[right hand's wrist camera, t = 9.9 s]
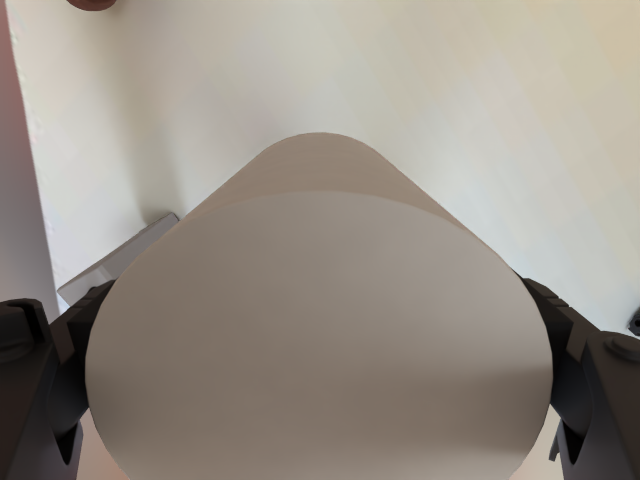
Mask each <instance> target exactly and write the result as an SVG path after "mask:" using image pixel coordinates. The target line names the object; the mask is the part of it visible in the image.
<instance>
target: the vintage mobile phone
mask: <svg viewBox="0 0 640 480" xmlns="http://www.w3.org/2000/svg"><path fill="white" fill-rule="evenodd" d="M178 222H179V221H178V219H177V218H176V216H175V215H174V214H173V213H171V214H169V215H167V216H165V217H164V218H162V219H160V220H158V221H157V222H155V223H153V224H151V225H150V226H148V227H146V228H144V229H143V230H141V231H140V232H139V233H138V234H137V235H135V236H134V237H132V238H131V239H129V240H128V241H127V242H125V243H124V244H122V245H121V246H120V247H118V248H117V249H115V250H114V251H112V252H111V253H110V254H108V255H107V256H105V257H104V258H102V259H101V260H99V261H98V262H96V263H95V264H93V265H92V266H90V267H89V268H87V269H86V270H84V271H83V272H82V273H80V274H79V275H77V276H76V277H74V278H73V279H71V280H70V281H68V282H67V283H66V284H64V285H63V286H61V287H60V288H59V289H58V290H57V293H58V294H59V295H60V296H61V297H62V298H63V299H64V300H65V301H66V302H67V304H68V305H69V306H70V308H72V306H73V305H74V304H75V303H77V302H78V301H79V300H82V298H83V297H84V296H85V295H86V294H88V293H89V292H90V291H91V290H92V289H94V288H95V287H97V286H99V285H101V284H103V283H105V282H108V281H110V280H116V279H117V278H118V277H119V276H121V274H122V273H123V272H124V271H125V270H126V269H127V268H128V266H129V265H130V264H131V263H132V262H133V261H134V259H135V258H136V257H138V256H139V255H140V254H141V253H142V252H143V251H145V250H146V249H147V248H148V247H149V246H151V245H152V244H153V243H154V242H155V241H157V240H158V239H159V238H160V237H161V236H163V235H164V234H165V233H166V232H167V231H168V230H170V229H171V228H172V227H173V226H174V225H176V224H177V223H178ZM68 309H69V308H68ZM68 309H67V310H68Z"/></svg>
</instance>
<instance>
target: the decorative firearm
mask: <svg viewBox="0 0 640 480" xmlns="http://www.w3.org/2000/svg"><path fill="white" fill-rule="evenodd" d="M628 329H629V330H630V331H631V332H632V333H633V334H634V335H635V336H640V314H639V315H638V316H637V315H635V317H634V318H633V319H632V321H631V322H630V328H628Z"/></svg>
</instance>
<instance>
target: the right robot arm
mask: <svg viewBox="0 0 640 480" xmlns="http://www.w3.org/2000/svg"><path fill="white" fill-rule="evenodd" d="M511 269H512V268H511ZM512 270H513V269H512ZM513 271H514V270H513ZM514 272H515V271H514ZM515 273H516V272H515ZM516 274H517V273H516ZM517 276H518V277H519V278H520V279H521V281H522V282H523V284H524V286H525V287H526V289H527V290H528V292H529V293H530V295H531V296H532V298H533V299H534V301H535V303H536V305H537V308H538V310H539V312H540V315H541V317H542V319H543V322H544V324H545V326H546V330H547V335H548V339H549V343H550V348H551V352H552V366H553V383H552V391H551V400H550V404H551V405H552V407H553V408H554V409H555V411H556V412H557V413H558V414H559V416H560V417H561V419H560V422H559V425H558V428H557V432H556V435H555V438H554V441H553V444H552V447H551V450H550V454H549V460H551V461H555V458H556V455H557V453H559V452H560V458H561V464H562V470H563V476H564V480H640V340H639V339H637V338H634V337H631V336H628V335H624V334H621V333H617V332H609V331H600V330H599V329H598V328H597V327H595V326H594V325H593V324H592V323H590V322H589V321H588V320H587V319H586V318H584V317H583V316H582V315H581V314H579V313H578V312H577V311H576V310H574V309H573V308H572V307H569V305H568V304H567V303H566V302H565V301H563V300H562V299H559V297H558V296H557V295H556V294H555V293H553V292H552V291H551V290H550V289H549V288H547V287H546V286H544V285H542V284H540V283H538V282H536V281H534V280H531V279H529V278H522V277H521V276H520V275H519V274H517ZM119 277H120V276H119ZM119 277H118V278H119ZM118 278H117V279H118ZM117 279H116V280H117ZM116 280H110V281H108V282H105V283H103V284H101V285H99V286H97V287H95V288H94V289H92V290H91V291H90V292H89V293H88V294H86V295H85V296H84V297H83V298H82V300H79V301H78V302H77V303H75V304H74V305H73V306H72V308H69V309H68V310H67V311H66V312H64V313H63V314H62V315H61V316H59V317H58V318H57V319H56V320H55V321H53V322H52V323H51V324H50V325H49V324H48V321H47V318H46V315H45V312H44V309H43V306H42V303H41V302H40V301H38V300H36V299H27V298H23V299H14V300H8V301H3V302H0V480H76V477H77V471H78V465H79V459H80V452H81V446H82V440H83V430H82V425H81V422H80V418H81V417H82V415H83V414H84V413H85V412H86V410H87V409H88V408H89V405H88V398H87V391H86V384H85V363H86V353H87V348H88V343H89V338H90V333H91V329H92V327H93V324H94V322H95V319H96V317H97V314H98V312H99V309H100V306H101V304H102V303H103V301H104V299H105V298H106V296H107V295H108V293H109V291H110V290H111V288H112V286H113V285H114V283H115V282H116Z"/></svg>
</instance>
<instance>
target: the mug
mask: <svg viewBox="0 0 640 480" xmlns="http://www.w3.org/2000/svg"><path fill="white" fill-rule="evenodd" d="M67 1H68V2H69V3H70V4H72V5H73V6H75V7H77V8H79V9H82V10H86V11H101V10H105V9H107V8H109V7H111V6H112V5H113V4H114V3H115V2H116V0H67Z"/></svg>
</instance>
